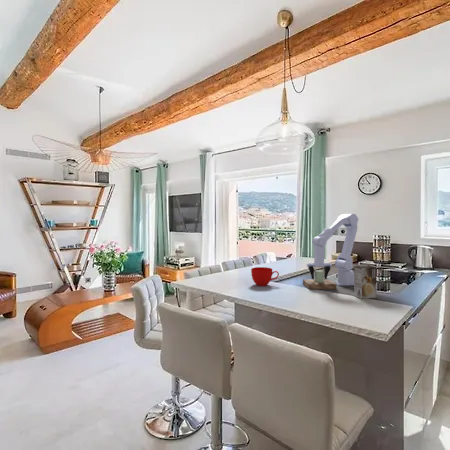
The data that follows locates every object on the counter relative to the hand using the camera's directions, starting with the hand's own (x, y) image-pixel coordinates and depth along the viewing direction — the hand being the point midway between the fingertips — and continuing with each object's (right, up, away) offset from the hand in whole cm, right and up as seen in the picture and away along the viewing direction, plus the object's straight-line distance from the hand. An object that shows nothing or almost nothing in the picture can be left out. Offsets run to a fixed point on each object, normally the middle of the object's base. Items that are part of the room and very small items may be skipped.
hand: (319, 278), depth 188 cm
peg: (0, -4, 0) cm, 4 cm away
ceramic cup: (-32, -5, +5) cm, 33 cm away
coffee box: (+17, -6, -24) cm, 30 cm away
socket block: (0, -5, 0) cm, 5 cm away
